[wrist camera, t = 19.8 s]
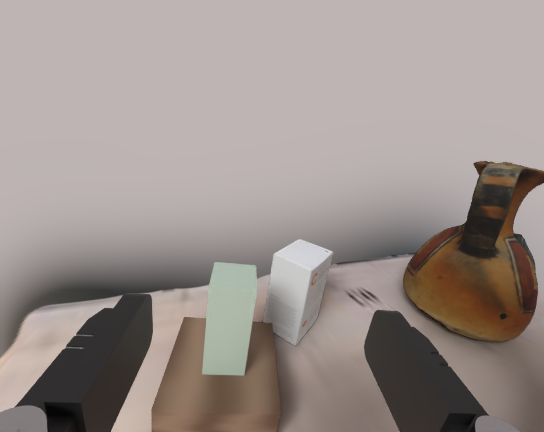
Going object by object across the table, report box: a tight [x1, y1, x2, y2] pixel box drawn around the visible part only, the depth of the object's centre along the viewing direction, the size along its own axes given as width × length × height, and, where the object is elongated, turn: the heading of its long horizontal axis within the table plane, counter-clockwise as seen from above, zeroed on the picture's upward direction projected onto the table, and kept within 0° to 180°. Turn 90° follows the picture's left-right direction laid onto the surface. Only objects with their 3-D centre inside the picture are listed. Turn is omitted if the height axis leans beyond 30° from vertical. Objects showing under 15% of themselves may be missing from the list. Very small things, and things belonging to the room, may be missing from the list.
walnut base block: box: [152, 317, 281, 432], centre depth 31 cm, size 12×12×4 cm
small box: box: [263, 239, 333, 346], centre depth 41 cm, size 8×6×13 cm
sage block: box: [202, 262, 257, 376], centre depth 28 cm, size 4×4×11 cm
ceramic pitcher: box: [403, 161, 544, 341], centre depth 46 cm, size 20×20×30 cm
